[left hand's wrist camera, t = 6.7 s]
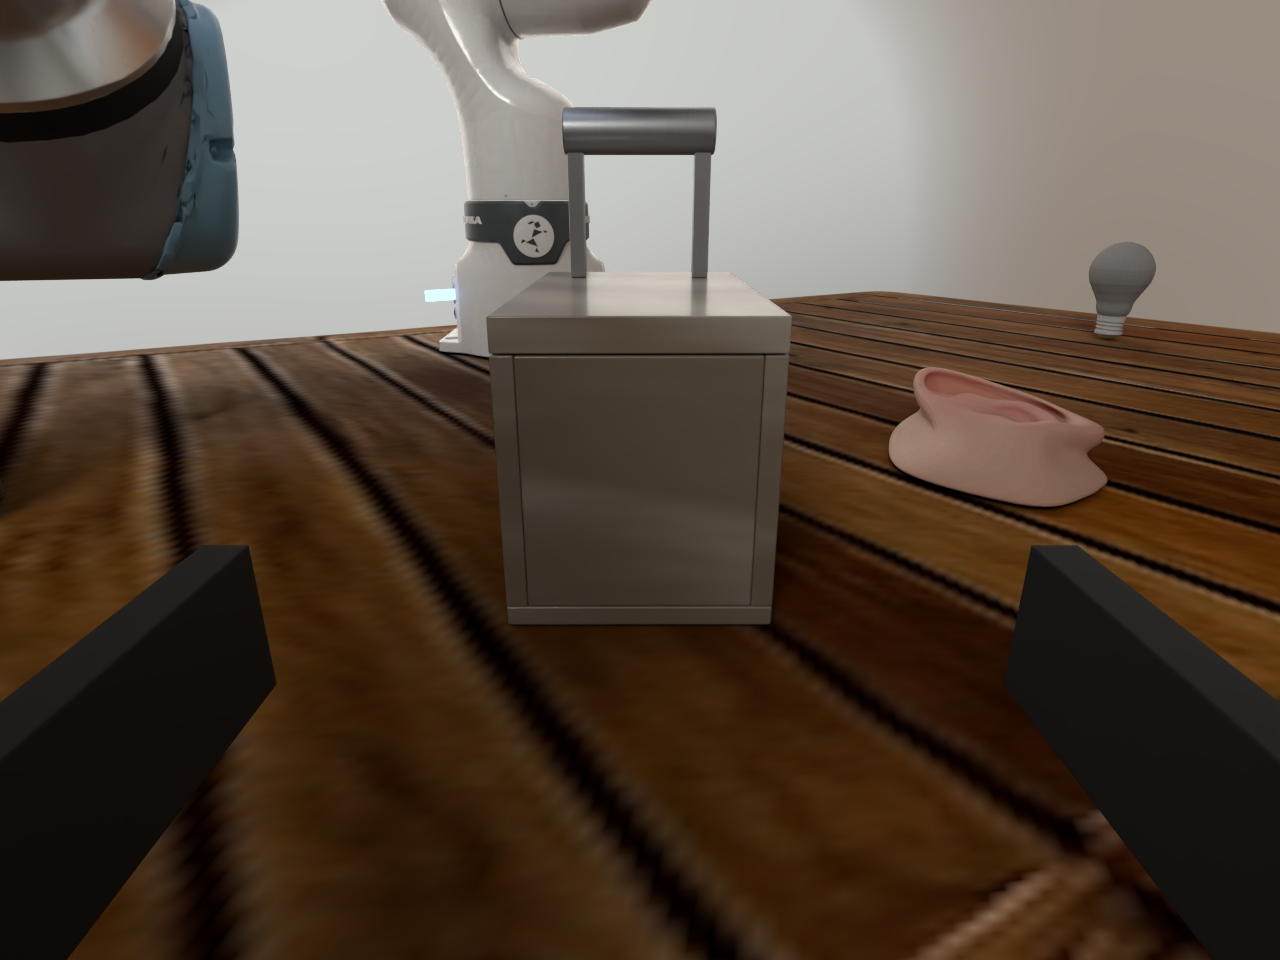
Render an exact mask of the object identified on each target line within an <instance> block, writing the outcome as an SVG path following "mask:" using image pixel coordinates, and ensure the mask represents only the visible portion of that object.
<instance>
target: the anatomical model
mask: <svg viewBox="0 0 1280 960" xmlns="http://www.w3.org/2000/svg"><path fill="white" fill-rule="evenodd" d="M913 388H914V394H915V397H916V400H917V402H918V404H919V406H920V410H919V411H918V412H916V413H915V414H913V415H912V416H910V417H908V418H907V419H905V420H904V421H903V422H901V423H900V424H899V425H898V426H897V427H896V428H895V430H894V431H893V433H892V435H891V437H890V441H889V455H890V458H891V460H892V462H893V463H894V465H895V466H896V467H898V468H899V469H900V470H902V471H903V472H905V473H907V474H909V475H911V476H914V477H916V478H919V479H921V480H924V481H927V482H930V483H933V484H936V485H939V486H943V487H946V488H950V489H953V490H957V491H961V492H965V493H969V494H973V495H977V496H981V497H985V498H989V499H994V500H999V501H1004V502H1009V503H1014V504H1020V505H1027V506H1036V507H1055V506H1061V505H1065V504H1069V503H1072V502H1075V501H1077V500H1080V499H1082V498H1084V497H1087V496H1089V495H1092V494H1093V493H1095V492H1097V491H1098V490H1099V489H1100V488H1102V487H1103V486H1104V485H1105V484H1106V483H1107V477H1106V475H1105V474H1104V473H1103V471H1102V470H1100V469H1099V468H1098V467H1097V466H1096V465H1095V464H1094V463H1093V462H1092V461H1091V460H1090V459H1089V458H1088V456H1087V452H1088V451H1089V450H1091V449H1092V448H1094V447H1095V446H1097V445H1099V444H1100V443H1101V442H1102V440H1103V438H1104V433H1105V432H1104V429H1103V428H1102V427H1101V426H1100V425H1098V424H1097V423H1095V422H1092V421H1090V420H1088V419H1086V418H1084V417H1081V416H1079V415H1077V414H1074V413H1072V412H1070V411H1067V410H1065V409H1063V408H1061V407H1058V406H1056V405H1054V404H1052V403H1050V402H1047V401H1045V400H1042V399H1040V398H1037V397H1035V396H1032V395H1030V394H1027V393H1024V392H1021V391H1018V390H1015V389H1011V388H1008V387H1005V386H1002V385H999V384H996V383H993V382H990V381H987V380H984V379H981V378H977V377H974V376H971V375H967V374H964V373H960V372H956V371H952V370H947V369H943V368H935V367H934V368H925V369H922V370H920V371H919V372H918V373H917V374H916V376H915V378H914V385H913Z"/></svg>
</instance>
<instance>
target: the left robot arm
mask: <svg viewBox="0 0 1280 960" xmlns="http://www.w3.org/2000/svg"><path fill="white" fill-rule="evenodd" d="M233 147H234V135H233V113H232V103H231V93H230V84H229V76H228V68H227V61H226V54H225V48H224V42H223V37H222V32H221V28H220V24H219V22H218V19H217V17H216V16H215V15H214V13H213V12H212V11H211V10H210V9H208V8H206V7H205V6H203V5H200V4H196V3H192V2H190V1H189V0H0V281H17V280H71V279H124V278H141V279H143V280H154V279H157V278H159V277H161V276H163V275H167V274H179V273H191V272H203V271H211V270H215V269H218V268H220V267H222V266H223V265H224V264H226V263H227V262H228V261H229V260H230V259H231V257H232V256H233V254H234V252H235V250H236V247H237V242H238V233H239V202H238V180H237V167H236V159H235V154H234V151H233ZM3 493H4V488H3V485H2V482H1V479H0V499H1V497H2V495H3ZM275 685H276V679H275V674H274V669H273V664H272V659H271V654H270V649H269V645H268V640H267V635H266V630H265V625H264V620H263V615H262V610H261V605H260V600H259V595H258V590H257V585H256V581H255V576H254V571H253V566H252V561H251V556H250V551H249V546H201V547H200V548H199V549H198V550H196V551H195V552H194V553H192V554H191V555H190V556H189V557H187V558H186V559H185V560H183V561H182V562H181V563H179V564H178V565H177V566H176V567H174V568H173V569H172V570H170V571H169V572H168V573H167V574H165V575H164V576H163V577H161V578H160V579H159V580H158V581H156V582H155V583H154V584H152V585H151V586H150V587H149V588H147V589H146V590H145V591H143V592H142V593H141V594H140V595H138V596H137V597H136V598H134V599H133V600H132V601H130V602H129V603H128V604H127V605H125V606H124V607H123V608H121V609H120V610H119V611H118V612H116V613H115V614H114V615H112V616H111V617H110V618H109V619H107V620H106V621H105V622H103V623H102V624H101V625H100V626H98V627H97V628H96V629H94V630H93V631H92V632H91V633H89V634H88V635H87V636H85V637H84V638H83V639H82V640H80V641H79V642H78V643H76V644H75V645H74V646H72V647H71V648H70V649H69V650H67V651H66V652H65V653H63V654H62V655H61V656H60V657H58V658H57V659H56V660H54V661H53V662H52V663H51V664H49V665H48V666H47V667H45V668H44V669H43V670H42V671H40V672H39V673H38V674H36V675H35V676H34V677H33V678H31V679H30V680H29V681H27V682H26V683H25V684H24V685H22V686H21V687H20V688H18V689H17V690H16V691H14V692H13V693H12V694H11V695H9V696H8V697H7V698H5V699H4V700H3V701H2V702H0V960H67V959H68V957H69V956H70V955H71V953H72V952H73V951H74V950H75V948H76V947H77V946H78V944H79V943H80V942H81V940H82V939H83V938H84V936H85V935H86V934H87V932H88V931H89V930H90V928H91V927H92V926H93V925H94V923H95V922H96V921H97V919H98V918H99V917H100V915H101V914H102V913H103V911H104V910H105V909H106V907H107V906H108V905H109V904H110V902H111V901H112V900H113V898H114V897H115V896H116V894H117V893H118V892H119V890H120V889H121V888H122V886H123V885H124V884H125V882H126V881H127V880H128V879H129V877H130V876H131V875H132V873H133V872H134V871H135V869H136V868H137V867H138V865H139V864H140V863H141V861H142V860H143V859H144V858H145V856H146V855H147V854H148V852H149V851H150V850H151V848H152V847H153V846H154V844H155V843H156V842H157V840H158V839H159V838H160V836H161V835H162V834H163V833H164V831H165V830H166V829H167V827H168V826H169V825H170V823H171V822H172V821H173V819H174V818H175V817H176V815H177V814H178V813H179V812H180V810H181V809H182V808H183V806H184V805H185V804H186V802H187V801H188V800H189V798H190V797H191V796H192V794H193V793H194V792H195V790H196V789H197V788H198V787H199V785H200V784H201V783H202V781H203V780H204V779H205V777H206V776H207V775H208V773H209V772H210V771H211V769H212V768H213V767H214V766H215V764H216V763H217V762H218V760H219V759H220V758H221V756H222V755H223V754H224V752H225V751H226V750H227V748H228V747H229V746H230V744H231V743H232V742H233V741H234V739H235V738H236V737H237V735H238V734H239V733H240V731H241V730H242V729H243V727H244V726H245V725H246V723H247V722H248V721H249V720H250V718H251V717H252V716H253V714H254V713H255V712H256V710H257V709H258V708H259V706H260V705H261V704H262V702H263V701H264V700H265V698H266V697H267V696H268V695H269V693H270V692H271V691H272V689H273V688H274V687H275ZM1004 685H1005V687H1006V688H1007V689H1008V691H1009V692H1010V693H1011V695H1012V696H1013V697H1014V698H1015V700H1016V701H1017V702H1018V704H1019V705H1020V706H1021V708H1022V709H1023V710H1024V712H1025V713H1026V714H1027V716H1028V717H1029V718H1030V720H1031V721H1032V722H1033V723H1034V725H1035V726H1036V727H1037V729H1038V730H1039V731H1040V733H1041V734H1042V735H1043V737H1044V738H1045V739H1046V741H1047V742H1048V743H1049V744H1050V746H1051V747H1052V748H1053V750H1054V751H1055V752H1056V754H1057V755H1058V756H1059V758H1060V759H1061V760H1062V762H1063V763H1064V764H1065V766H1066V767H1067V768H1068V769H1069V771H1070V772H1071V773H1072V775H1073V776H1074V777H1075V779H1076V780H1077V781H1078V783H1079V784H1080V785H1081V787H1082V788H1083V789H1084V790H1085V792H1086V793H1087V794H1088V796H1089V797H1090V798H1091V800H1092V801H1093V802H1094V804H1095V805H1096V806H1097V808H1098V809H1099V810H1100V812H1101V813H1102V814H1103V815H1104V817H1105V818H1106V819H1107V821H1108V822H1109V823H1110V825H1111V826H1112V827H1113V829H1114V830H1115V831H1116V833H1117V834H1118V835H1119V836H1120V838H1121V839H1122V840H1123V842H1124V843H1125V844H1126V846H1127V847H1128V848H1129V850H1130V851H1131V852H1132V854H1133V855H1134V856H1135V858H1136V859H1137V860H1138V861H1139V863H1140V864H1141V865H1142V867H1143V868H1144V869H1145V871H1146V872H1147V873H1148V875H1149V876H1150V877H1151V879H1152V880H1153V881H1154V882H1155V884H1156V885H1157V886H1158V888H1159V889H1160V890H1161V892H1162V893H1163V894H1164V896H1165V897H1166V898H1167V900H1168V901H1169V902H1170V904H1171V905H1172V906H1173V907H1174V909H1175V910H1176V911H1177V913H1178V914H1179V915H1180V917H1181V918H1182V919H1183V921H1184V922H1185V923H1186V925H1187V926H1188V927H1189V928H1190V930H1191V931H1192V932H1193V934H1194V935H1195V936H1196V938H1197V939H1198V940H1199V942H1200V943H1201V944H1202V946H1203V947H1204V948H1205V950H1206V951H1207V952H1208V953H1209V955H1210V956H1211V957H1212V959H1213V960H1280V702H1278V701H1277V700H1276V699H1275V698H1273V697H1272V696H1271V695H1269V694H1268V693H1267V692H1266V691H1264V690H1263V689H1262V688H1260V687H1259V686H1258V685H1256V684H1255V683H1254V682H1253V681H1251V680H1250V679H1249V678H1247V677H1246V676H1245V675H1244V674H1242V673H1241V672H1240V671H1238V670H1237V669H1236V668H1235V667H1233V666H1232V665H1231V664H1229V663H1228V662H1227V661H1226V660H1224V659H1223V658H1222V657H1220V656H1219V655H1218V654H1217V653H1215V652H1214V651H1213V650H1211V649H1210V648H1209V647H1208V646H1206V645H1205V644H1204V643H1202V642H1201V641H1200V640H1198V639H1197V638H1196V637H1195V636H1193V635H1192V634H1191V633H1189V632H1188V631H1187V630H1186V629H1184V628H1183V627H1182V626H1180V625H1179V624H1178V623H1177V622H1175V621H1174V620H1173V619H1171V618H1170V617H1169V616H1168V615H1166V614H1165V613H1164V612H1162V611H1161V610H1160V609H1159V608H1157V607H1156V606H1155V605H1153V604H1152V603H1151V602H1150V601H1148V600H1147V599H1146V598H1144V597H1143V596H1142V595H1140V594H1139V593H1138V592H1137V591H1135V590H1134V589H1133V588H1131V587H1130V586H1129V585H1128V584H1126V583H1125V582H1124V581H1122V580H1121V579H1120V578H1119V577H1117V576H1116V575H1115V574H1113V573H1112V572H1111V571H1110V570H1108V569H1107V568H1106V567H1104V566H1103V565H1102V564H1101V563H1099V562H1098V561H1097V560H1095V559H1094V558H1093V557H1091V556H1090V555H1089V554H1088V553H1086V552H1085V551H1084V550H1082V549H1081V548H1080V547H1079V546H1031V551H1030V556H1029V561H1028V566H1027V571H1026V576H1025V581H1024V585H1023V590H1022V595H1021V600H1020V605H1019V610H1018V615H1017V620H1016V625H1015V630H1014V635H1013V640H1012V644H1011V649H1010V654H1009V659H1008V664H1007V669H1006V674H1005V679H1004Z"/></svg>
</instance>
